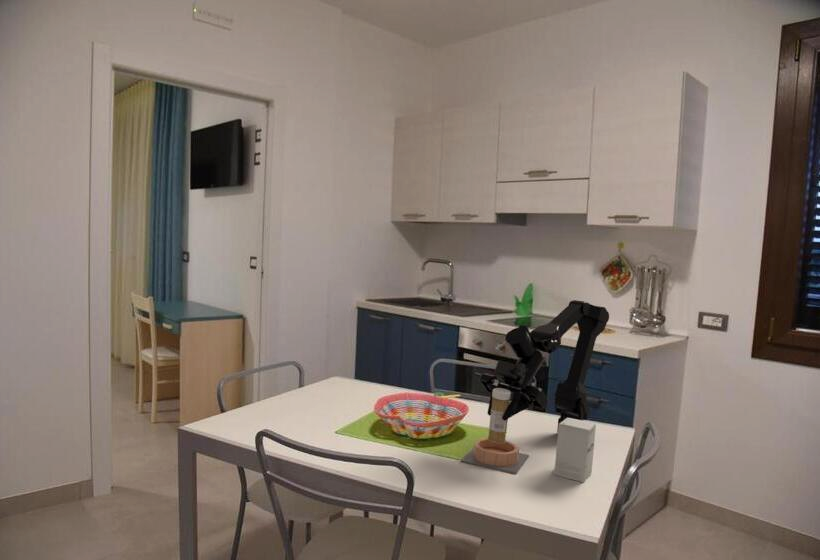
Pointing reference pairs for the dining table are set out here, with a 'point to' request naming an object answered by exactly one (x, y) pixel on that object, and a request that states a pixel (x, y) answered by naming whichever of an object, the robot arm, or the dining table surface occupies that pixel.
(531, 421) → the dining table surface
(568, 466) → the supplement box
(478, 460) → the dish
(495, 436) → the sprinkles bottle
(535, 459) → the dining table surface
